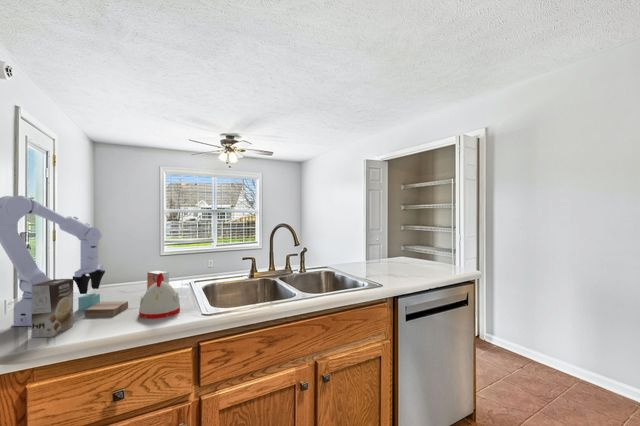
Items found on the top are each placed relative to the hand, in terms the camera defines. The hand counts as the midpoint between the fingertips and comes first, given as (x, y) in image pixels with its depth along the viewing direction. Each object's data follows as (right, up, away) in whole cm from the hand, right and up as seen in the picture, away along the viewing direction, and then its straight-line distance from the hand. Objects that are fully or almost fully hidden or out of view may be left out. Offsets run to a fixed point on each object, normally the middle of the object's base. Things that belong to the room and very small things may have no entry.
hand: (89, 291), depth 123 cm
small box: (+17, -7, +20) cm, 27 cm away
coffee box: (+7, -7, -24) cm, 26 cm away
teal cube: (0, -7, 0) cm, 7 cm away
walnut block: (+11, -7, -5) cm, 14 cm away
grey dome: (+31, -7, -5) cm, 32 cm away
